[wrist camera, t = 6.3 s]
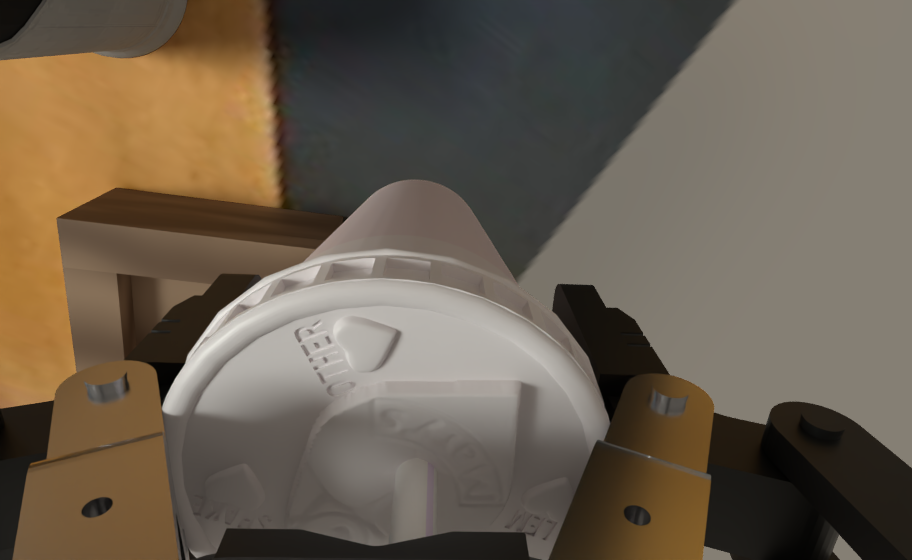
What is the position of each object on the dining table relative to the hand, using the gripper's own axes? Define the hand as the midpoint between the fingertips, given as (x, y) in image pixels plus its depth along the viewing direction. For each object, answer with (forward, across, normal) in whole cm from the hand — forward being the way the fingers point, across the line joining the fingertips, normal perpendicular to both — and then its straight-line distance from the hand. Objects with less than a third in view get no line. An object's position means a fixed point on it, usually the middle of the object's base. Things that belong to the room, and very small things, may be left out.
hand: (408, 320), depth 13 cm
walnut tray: (+25, +13, +12) cm, 31 cm away
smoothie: (+5, 0, 0) cm, 5 cm away
